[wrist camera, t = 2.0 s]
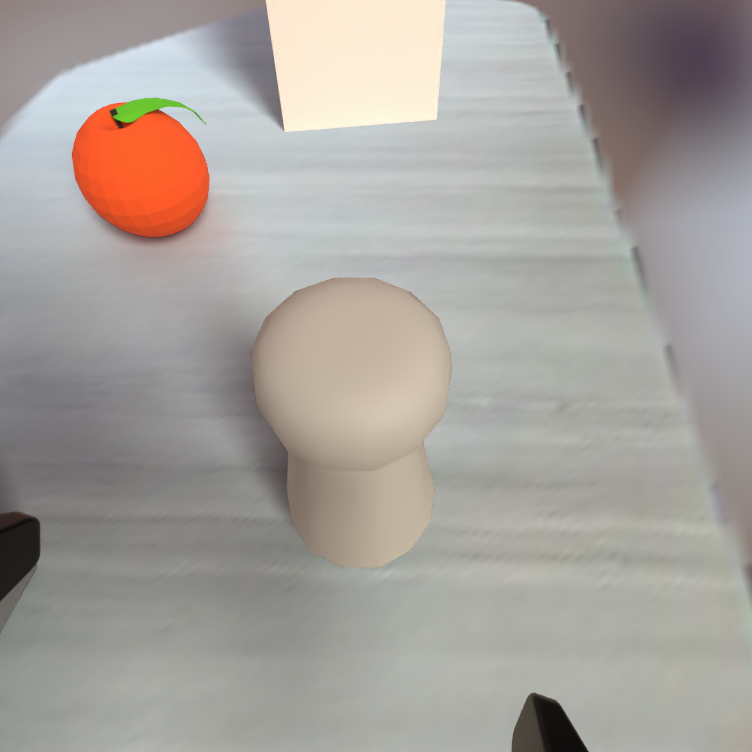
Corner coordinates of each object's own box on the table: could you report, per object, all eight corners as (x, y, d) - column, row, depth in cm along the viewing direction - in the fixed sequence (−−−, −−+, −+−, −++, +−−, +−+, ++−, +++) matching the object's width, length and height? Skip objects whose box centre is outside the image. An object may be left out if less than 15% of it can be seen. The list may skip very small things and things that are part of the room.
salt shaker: (413, 592, 18) (479, 524, 7) (279, 557, 19) (141, 445, 8) (436, 457, 21) (510, 255, 10) (319, 431, 22) (261, 213, 11)
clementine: (197, 165, 32) (154, 51, 25) (259, 213, 29) (228, 100, 23) (91, 221, 29) (14, 109, 23) (150, 280, 26) (82, 172, 20)
